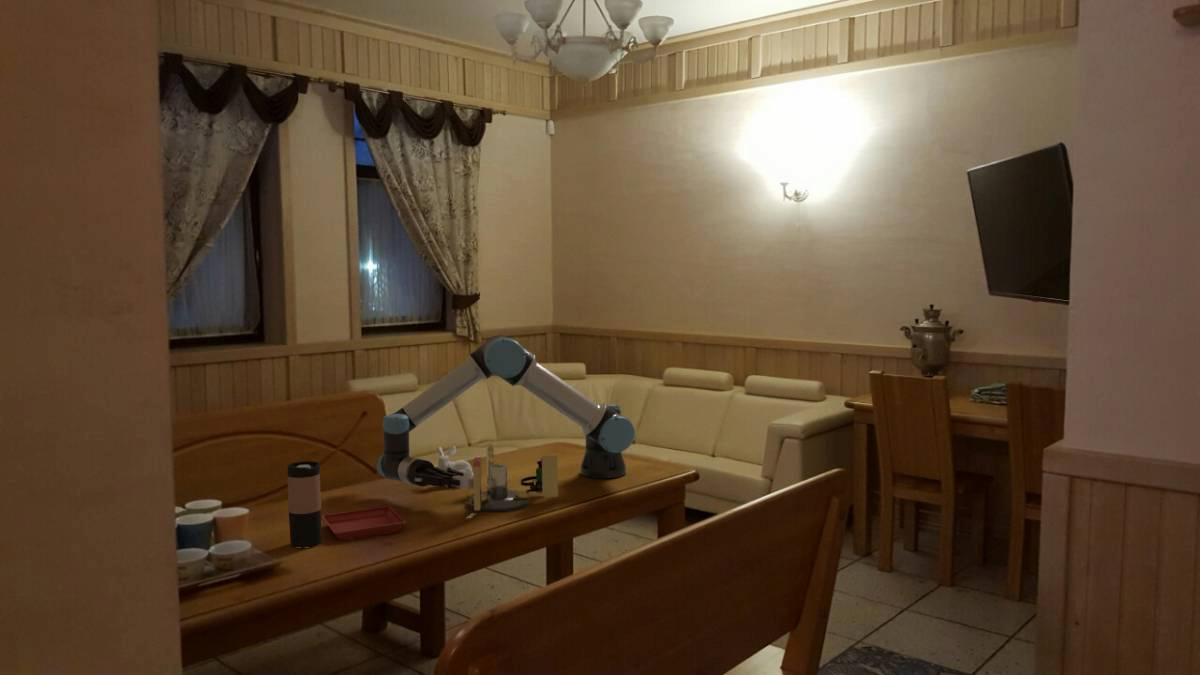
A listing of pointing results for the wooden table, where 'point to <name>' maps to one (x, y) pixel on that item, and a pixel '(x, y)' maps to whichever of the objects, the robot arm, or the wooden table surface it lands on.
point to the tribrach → (514, 499)
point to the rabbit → (454, 463)
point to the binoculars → (538, 476)
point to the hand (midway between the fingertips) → (470, 484)
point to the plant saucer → (364, 522)
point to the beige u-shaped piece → (478, 485)
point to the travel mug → (304, 504)
